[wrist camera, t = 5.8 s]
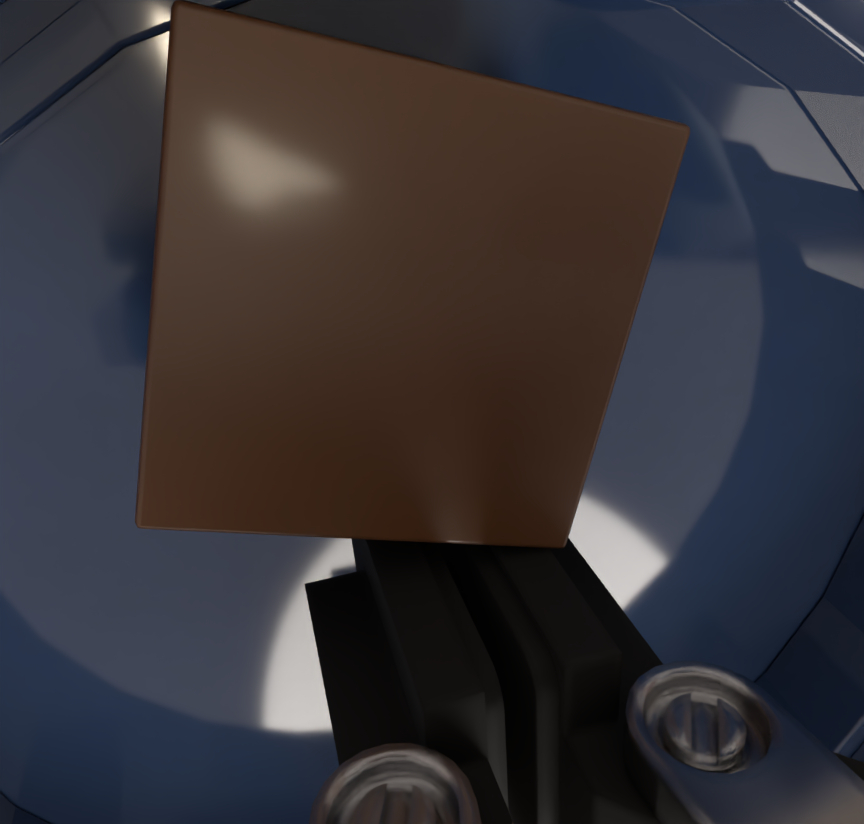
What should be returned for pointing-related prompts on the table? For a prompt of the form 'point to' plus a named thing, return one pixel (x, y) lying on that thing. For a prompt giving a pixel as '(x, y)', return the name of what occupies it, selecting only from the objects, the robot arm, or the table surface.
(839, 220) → the bowl
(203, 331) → the walnut block
